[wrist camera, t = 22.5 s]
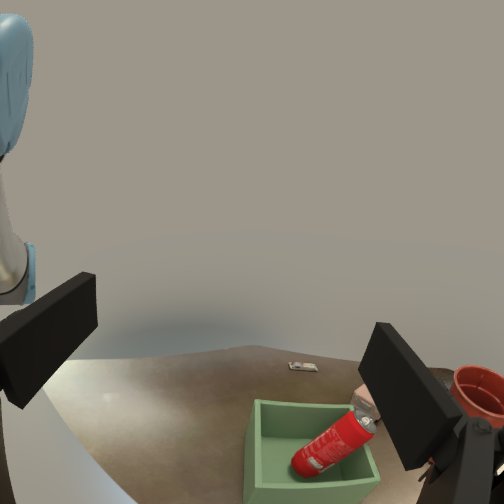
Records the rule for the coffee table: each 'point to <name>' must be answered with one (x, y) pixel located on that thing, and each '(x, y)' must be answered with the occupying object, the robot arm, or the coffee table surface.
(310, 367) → the granola bar
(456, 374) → the flower pot
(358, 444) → the beverage can
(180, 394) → the coffee table surface
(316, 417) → the open square storage bin
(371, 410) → the toy car
